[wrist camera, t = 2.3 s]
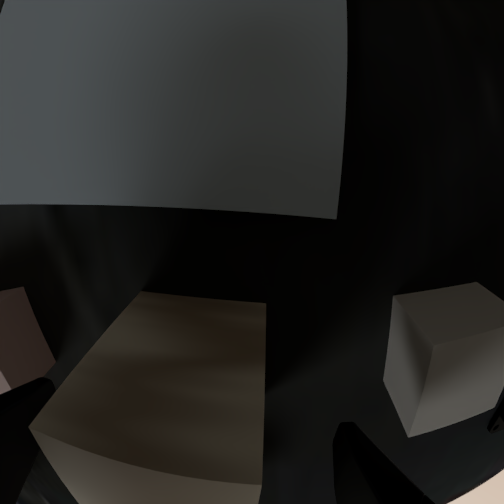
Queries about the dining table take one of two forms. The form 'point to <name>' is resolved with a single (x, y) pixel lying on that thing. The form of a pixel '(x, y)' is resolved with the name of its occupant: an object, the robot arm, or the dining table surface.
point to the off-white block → (445, 355)
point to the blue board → (174, 104)
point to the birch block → (164, 406)
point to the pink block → (20, 342)
